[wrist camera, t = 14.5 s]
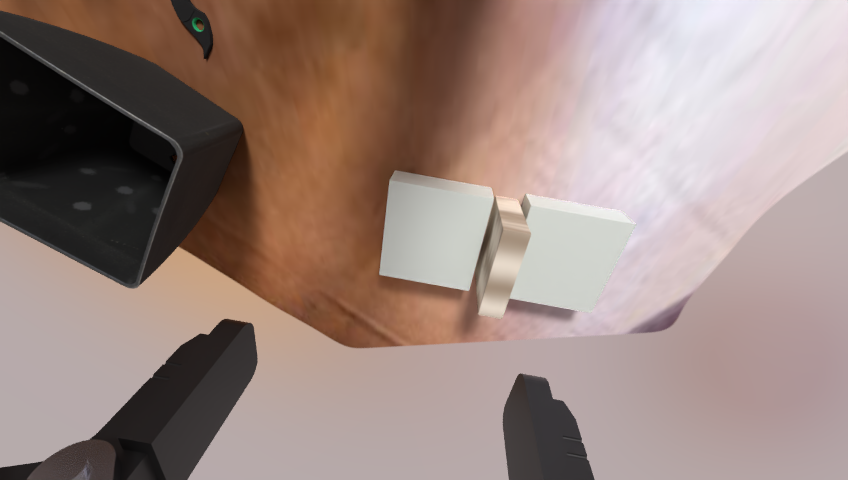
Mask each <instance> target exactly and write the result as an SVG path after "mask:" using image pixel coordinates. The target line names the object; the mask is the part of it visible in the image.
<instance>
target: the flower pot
mask: <svg viewBox="0 0 848 480" xmlns="http://www.w3.org/2000/svg"><path fill="white" fill-rule="evenodd" d="M242 132H243V126H242V124H241V122H240V121H239V120H238V119H237V118H235V117H234V116H232V115H231V114H229V113H228V112H226V111H225V110H223V109H222V108H220V107H219V106H217V105H216V104H214V103H213V102H211V101H210V100H208V99H207V98H205V97H204V96H203V95H201V94H200V93H198V92H197V91H195V90H194V89H192V88H191V87H189V86H188V85H186V84H185V83H183V82H182V81H180V80H179V79H177V78H176V77H174V76H173V75H171V74H170V73H168V72H167V71H165V70H164V69H162V68H161V67H159V66H158V65H156V64H155V63H152V62H150V61H148V60H146V59H144V58H141V57H139V56H137V55H134V54H132V53H129V52H127V51H124V50H122V49H119V48H117V47H114V46H112V45H109V44H106V43H104V42H101V41H98V40H96V39H93V38H90V37H87V36H84V35H81V34H78V33H75V32H72V31H69V30H66V29H63V28H60V27H57V26H53V25H50V24H47V23H43V22H40V21H37V20H33V19H30V18H26V17H23V16H19V15H15V14H11V13H8V12H4V11H0V222H2V223H4V224H6V225H8V226H10V227H12V228H14V229H16V230H18V231H20V232H22V233H24V234H25V235H27V236H29V237H31V238H33V239H35V240H37V241H39V242H41V243H43V244H45V245H47V246H49V247H50V248H52V249H54V250H56V251H58V252H60V253H62V254H64V255H66V256H68V257H69V258H71V259H73V260H75V261H77V262H79V263H81V264H83V265H85V266H87V267H89V268H90V269H92V270H94V271H96V272H98V273H100V274H102V275H104V276H106V277H108V278H110V279H112V280H114V281H115V282H117V283H119V284H121V285H123V286H125V287H128V288H137V287H138V286H139V285H140V284H141V283H143V282H144V281H145V280H146V279H147V278H148V277H149V276H150V275H151V274H152V273H153V272H154V271H155V270H156V269H157V268H158V267H159V266H160V265H161V264H162V263H163V262H164V261H165V260H166V259H167V258H168V257H169V256H170V255H171V254H172V252H173V251H174V250H175V249H176V248H177V247H178V246H179V245H180V243H181V242H182V241H183V240H184V239H185V238H186V236H187V235H188V234H189V233H190V231H191V230H192V229H193V227H194V226H195V225H196V223H197V222H198V221H199V219H200V218H201V217H202V215H203V214H204V212H205V211H206V209H207V208H208V206H209V205H210V203H211V202H212V200H213V198H214V197H215V195H216V193H217V191H218V188H219V186H220V183H221V181H222V179H223V176H224V174H225V172H226V169H227V167H228V165H229V162H230V160H231V158H232V155H233V153H234V151H235V148H236V146H237V144H238V141H239V139H240V137H241V134H242ZM172 155H177V160H176V164H175V163H173V162H172V160H171V156H172Z"/></svg>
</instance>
